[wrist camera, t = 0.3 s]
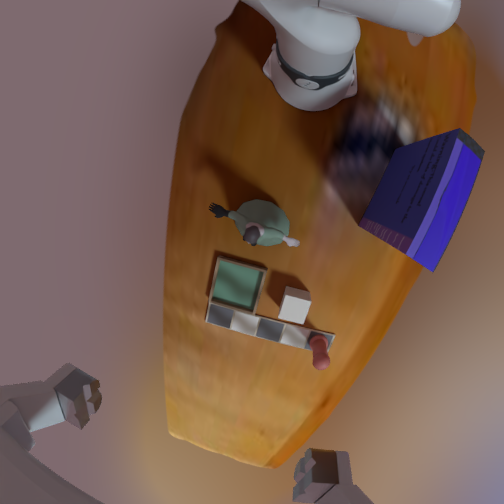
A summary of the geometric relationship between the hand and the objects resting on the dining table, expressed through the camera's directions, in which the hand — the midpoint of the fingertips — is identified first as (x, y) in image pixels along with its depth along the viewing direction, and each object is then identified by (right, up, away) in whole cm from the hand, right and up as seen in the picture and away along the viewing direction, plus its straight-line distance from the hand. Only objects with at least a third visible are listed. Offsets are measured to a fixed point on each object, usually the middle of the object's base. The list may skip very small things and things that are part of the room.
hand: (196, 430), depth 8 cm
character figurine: (+3, +13, +45) cm, 47 cm away
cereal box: (+28, +18, +40) cm, 52 cm away
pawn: (+16, -13, +48) cm, 53 cm away
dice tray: (-1, 0, +48) cm, 48 cm away
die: (+11, -3, +47) cm, 49 cm away
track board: (+6, -10, +50) cm, 51 cm away
